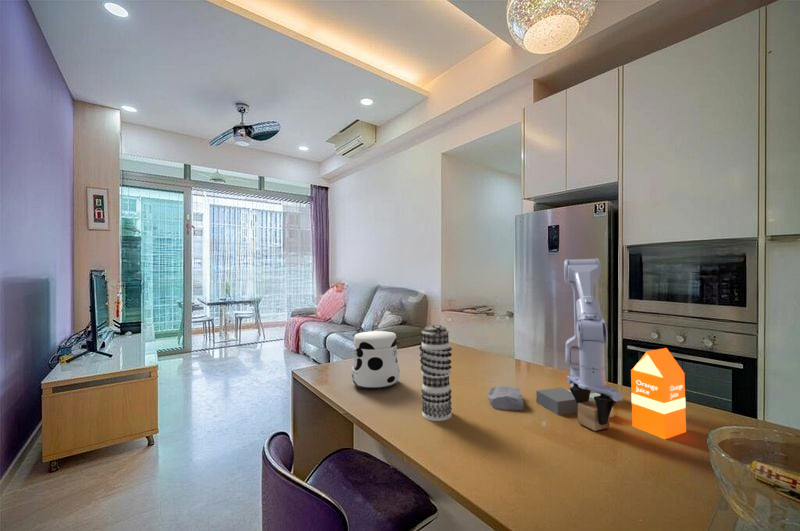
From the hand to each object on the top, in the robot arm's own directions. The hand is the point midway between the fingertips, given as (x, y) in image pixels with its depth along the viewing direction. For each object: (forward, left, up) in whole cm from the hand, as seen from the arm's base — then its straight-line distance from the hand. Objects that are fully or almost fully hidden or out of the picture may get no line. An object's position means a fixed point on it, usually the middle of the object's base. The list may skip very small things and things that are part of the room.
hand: (593, 419), depth 87 cm
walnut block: (0, 0, -1) cm, 1 cm away
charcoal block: (-2, -13, -2) cm, 13 cm away
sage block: (-8, -5, -2) cm, 10 cm away
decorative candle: (+34, -22, -2) cm, 41 cm away
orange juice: (-14, +7, -2) cm, 16 cm away
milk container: (+43, -53, -2) cm, 68 cm away
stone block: (+11, -22, -2) cm, 25 cm away
